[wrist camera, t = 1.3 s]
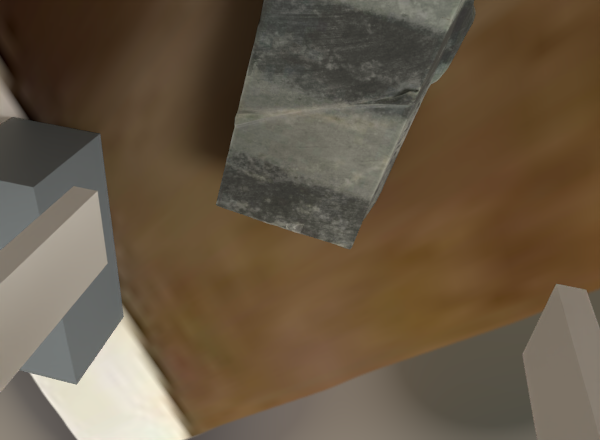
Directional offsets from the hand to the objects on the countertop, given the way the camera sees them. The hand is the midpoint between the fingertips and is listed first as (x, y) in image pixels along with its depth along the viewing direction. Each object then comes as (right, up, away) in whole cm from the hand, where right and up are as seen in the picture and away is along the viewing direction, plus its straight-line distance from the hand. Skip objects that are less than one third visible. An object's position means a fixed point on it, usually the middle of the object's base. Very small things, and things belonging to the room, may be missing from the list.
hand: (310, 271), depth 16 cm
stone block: (+2, +9, +13) cm, 16 cm away
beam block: (-16, +1, +23) cm, 28 cm away
